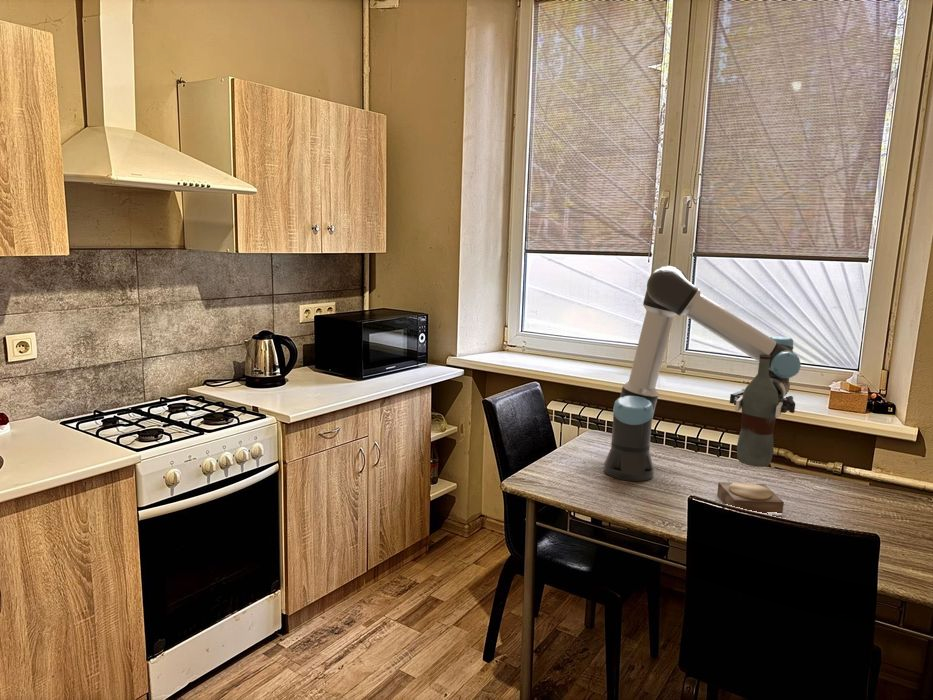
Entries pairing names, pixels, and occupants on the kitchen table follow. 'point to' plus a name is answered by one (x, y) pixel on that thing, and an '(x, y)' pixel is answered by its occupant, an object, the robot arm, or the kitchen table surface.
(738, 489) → the soap dish
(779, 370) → the robot arm
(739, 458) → the vodka
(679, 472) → the kitchen table surface
